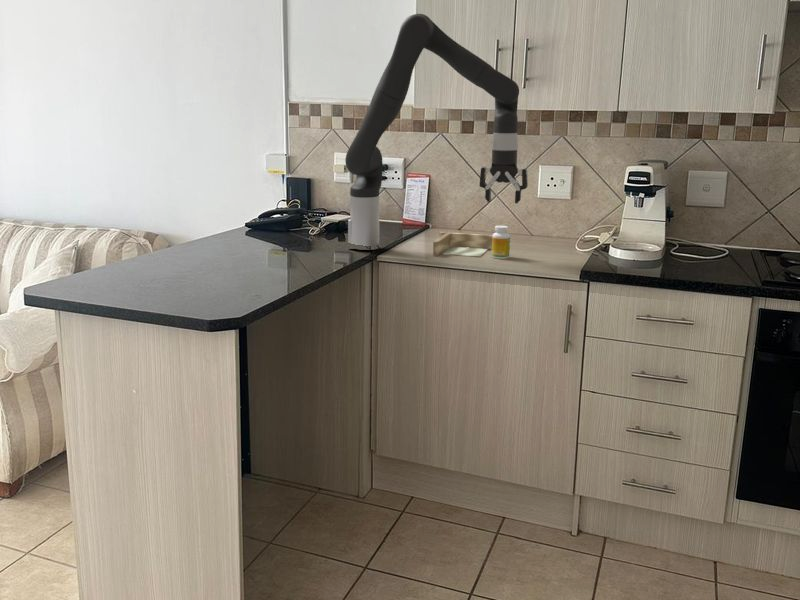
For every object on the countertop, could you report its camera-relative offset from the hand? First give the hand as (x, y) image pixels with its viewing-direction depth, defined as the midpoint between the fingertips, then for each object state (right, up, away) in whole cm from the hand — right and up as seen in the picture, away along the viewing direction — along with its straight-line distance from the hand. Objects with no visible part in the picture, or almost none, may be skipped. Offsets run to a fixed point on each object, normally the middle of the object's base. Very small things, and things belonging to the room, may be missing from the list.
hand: (502, 202), depth 241 cm
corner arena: (-12, -14, +12) cm, 22 cm away
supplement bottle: (0, -17, +5) cm, 17 cm away
